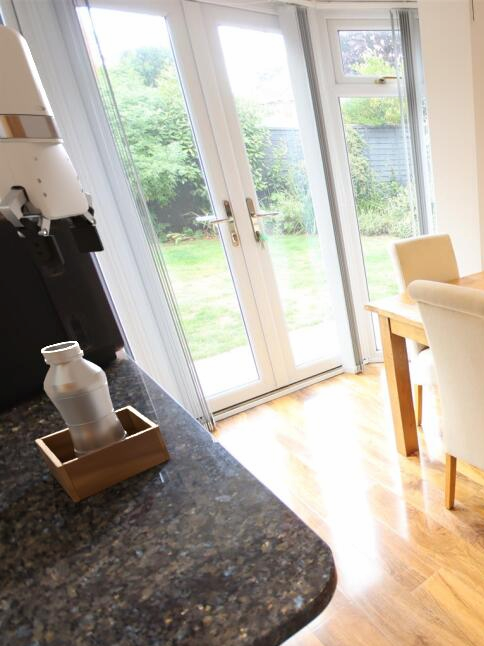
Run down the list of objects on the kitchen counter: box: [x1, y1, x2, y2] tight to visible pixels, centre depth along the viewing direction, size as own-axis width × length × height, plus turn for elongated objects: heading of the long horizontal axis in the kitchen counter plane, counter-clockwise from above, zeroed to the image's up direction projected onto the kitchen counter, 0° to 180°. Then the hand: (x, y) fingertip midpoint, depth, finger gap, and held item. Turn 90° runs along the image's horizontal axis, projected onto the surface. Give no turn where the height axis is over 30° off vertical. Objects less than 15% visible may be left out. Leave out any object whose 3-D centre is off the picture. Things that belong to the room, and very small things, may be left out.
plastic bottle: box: [41, 341, 129, 458], centre depth 67 cm, size 6×7×20 cm
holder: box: [34, 405, 172, 504], centre depth 70 cm, size 12×12×6 cm
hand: (72, 258), depth 69 cm, fingers open, 9 cm apart
